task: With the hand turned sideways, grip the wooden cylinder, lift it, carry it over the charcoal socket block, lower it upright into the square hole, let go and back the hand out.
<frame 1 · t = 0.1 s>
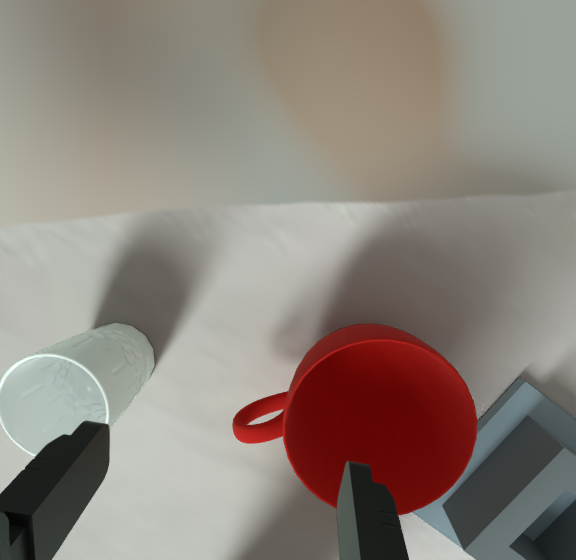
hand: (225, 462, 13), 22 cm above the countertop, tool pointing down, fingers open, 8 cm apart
ceramic cup: (336, 374, 36), on the countertop
white cup: (120, 356, 37), on the countertop
socket block: (525, 489, 37), on the countertop
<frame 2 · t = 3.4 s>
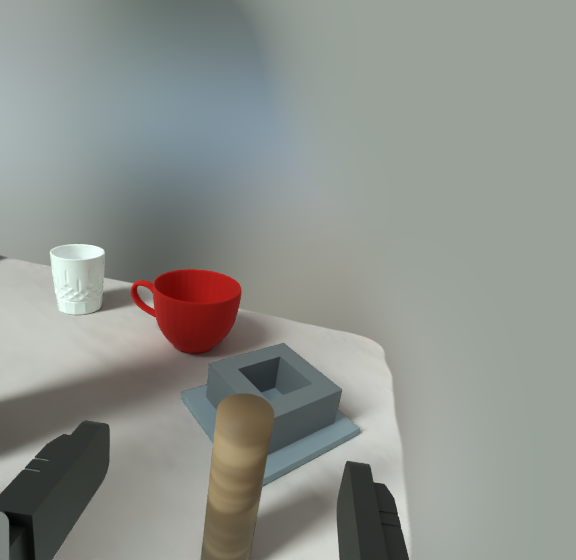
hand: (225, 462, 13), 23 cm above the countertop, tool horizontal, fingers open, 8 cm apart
ceramic cup: (182, 341, 63), on the countertop
wooden cylinder: (225, 556, 33), on the countertop
white cup: (80, 307, 68), on the countertop
socket block: (268, 416, 49), on the countertop
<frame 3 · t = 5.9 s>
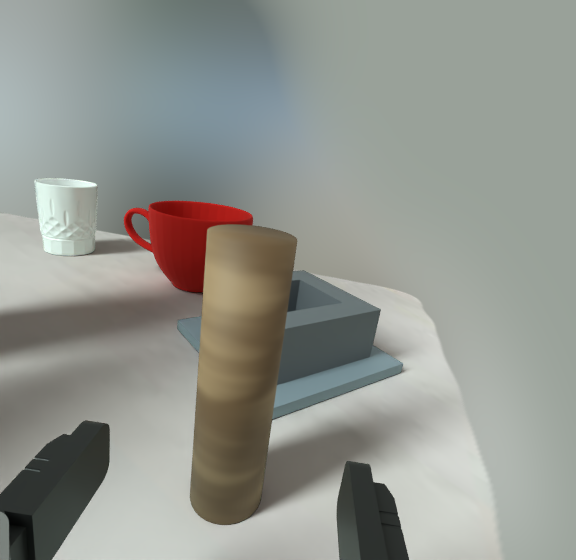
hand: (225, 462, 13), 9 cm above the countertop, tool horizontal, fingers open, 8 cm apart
ceramic cup: (183, 282, 53), on the countertop
wooden cylinder: (226, 492, 22), on the countertop
white cup: (69, 251, 59), on the countertop
socket block: (285, 350, 39), on the countertop
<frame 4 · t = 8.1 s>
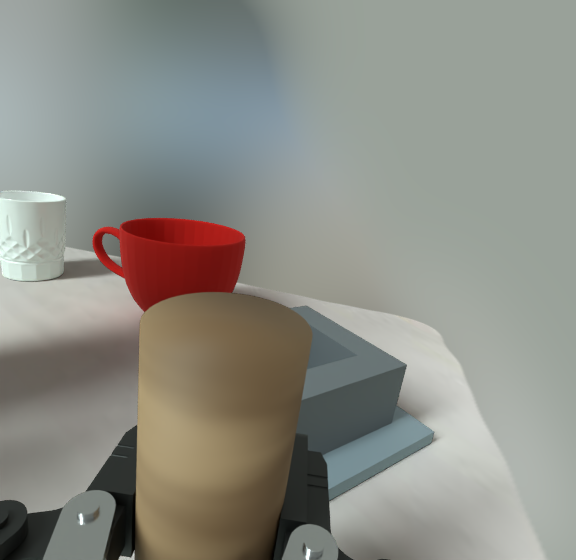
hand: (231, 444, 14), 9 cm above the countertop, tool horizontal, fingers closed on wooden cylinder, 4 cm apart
ceramic cup: (163, 314, 45), on the countertop
white cup: (33, 274, 51), on the countertop
socket block: (284, 411, 31), on the countertop
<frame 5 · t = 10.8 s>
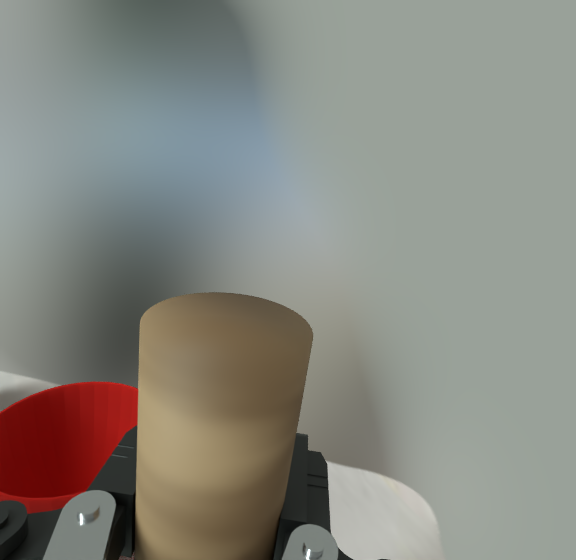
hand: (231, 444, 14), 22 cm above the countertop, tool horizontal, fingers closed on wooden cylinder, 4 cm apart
ceramic cup: (58, 523, 33), on the countertop
when the fingers open (11 cm above the countertop, at t = 13.8 s): wooden cylinder drops 1 cm, resting on socket block.
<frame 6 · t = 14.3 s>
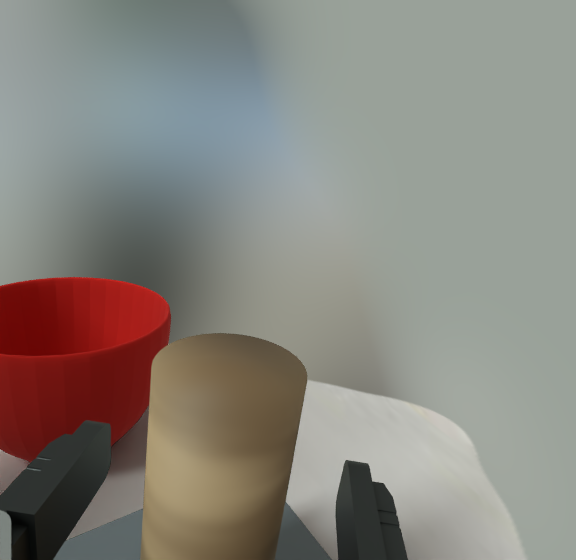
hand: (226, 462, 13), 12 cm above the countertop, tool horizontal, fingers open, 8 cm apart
ceramic cup: (48, 430, 29), on the countertop
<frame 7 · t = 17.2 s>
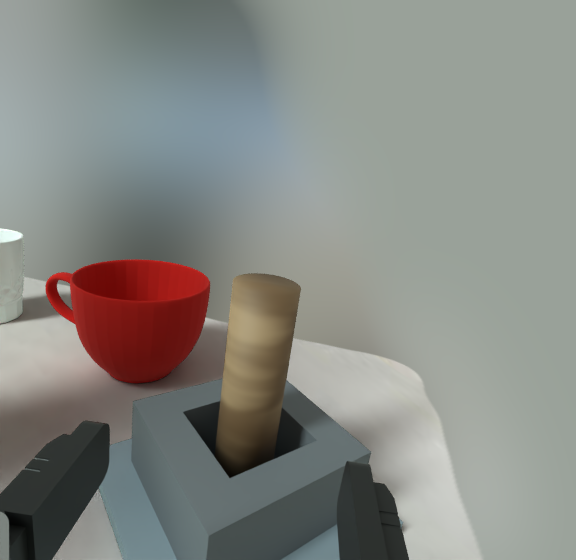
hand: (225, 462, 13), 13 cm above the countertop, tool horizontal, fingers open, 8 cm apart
ceramic cup: (123, 364, 42), on the countertop
wooden cylinder: (240, 486, 27), point 1 cm above the countertop, touching socket block
socket block: (239, 496, 28), on the countertop
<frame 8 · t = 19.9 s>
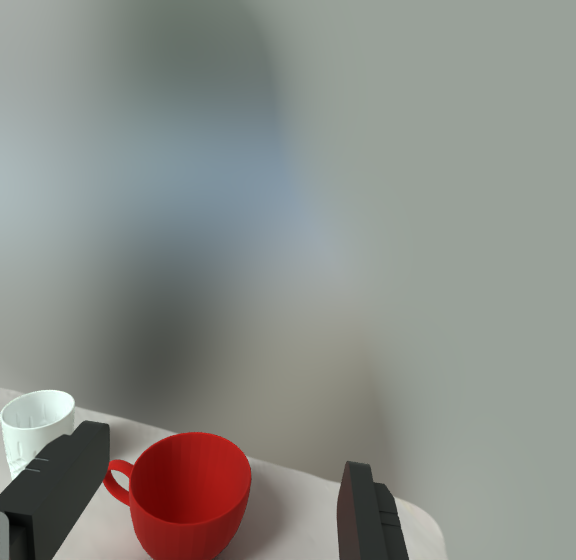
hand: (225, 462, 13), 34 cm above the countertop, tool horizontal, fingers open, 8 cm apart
ceramic cup: (170, 537, 46), on the countertop
white cup: (42, 473, 52), on the countertop
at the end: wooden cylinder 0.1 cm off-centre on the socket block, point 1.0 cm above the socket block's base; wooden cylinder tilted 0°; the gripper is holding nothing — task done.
